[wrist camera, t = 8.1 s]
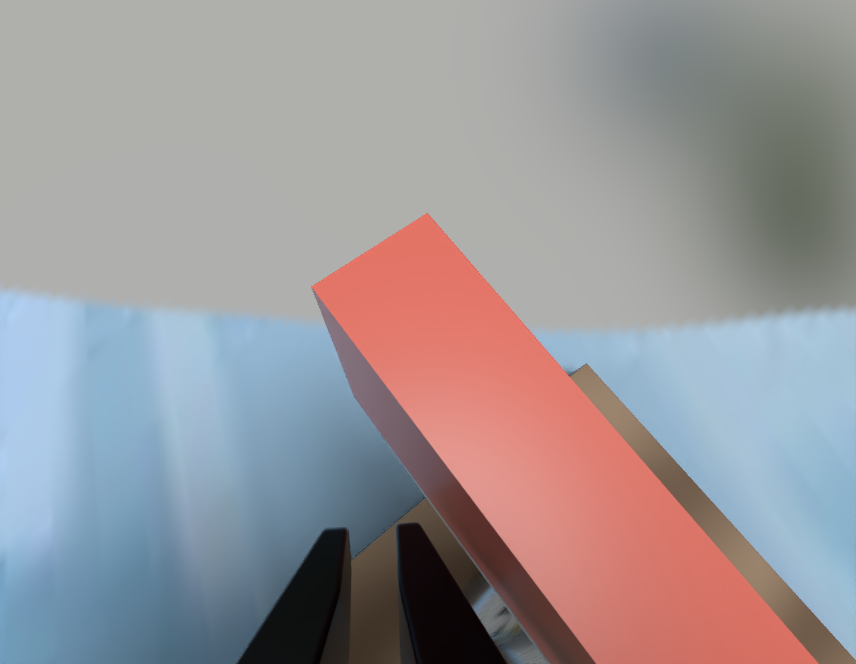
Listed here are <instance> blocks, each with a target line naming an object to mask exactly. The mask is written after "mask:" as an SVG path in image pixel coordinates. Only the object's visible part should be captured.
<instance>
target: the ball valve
mask: <svg viewBox="0 0 856 664" xmlns="http://www.w3.org/2000/svg"><path fill="white" fill-rule="evenodd" d="M462 592H463V593H464V595H465V597H466V598H467V600H468V601H469V603H470V605H471V606H472V608H473V609H474V611H475V613H476V614H477V616H478V617H479V619H480V621H481V622H482V624H483V625H484V627H485V629H486V630H487V632H488V633H489V635H490V637H491V638H492V640H493V641H494V643H495V645H496V646H497V648H498V649H499V651H500V653H501V654H502V656H503V657H504V659H505V661H506V662H507V664H547V663H546V661H545V660H544V658H543V657H542V656H541V654H540V653H539V652H538V650H537V649H536V648H535V646H534V645H533V643H532V642H531V641H530V639H529V638H528V637H527V635H526V634H525V632H524V631H523V630H522V628H521V627H520V626H519V624H518V623H517V622H516V620H515V619H514V617H513V616H512V615H511V613H510V612H509V611H508V609H507V608H506V607H505V605H504V604H503V602H502V601H501V600H500V598H499V597H498V596H497V594H496V593H495V591H494V590H493V589H492V587H491V586H490V585H489V583H488V582H487V581H486V579H485V578H484V576H483V575H482V574H481V572H480V571H479V572H478V573H477V574H476V575H475V576H474V577H473V578H472V579H471V580H470V581H469V582H468V584H467V585H466V586H465V587H464V588H463V590H462Z"/></svg>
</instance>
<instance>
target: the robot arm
mask: <svg viewBox="0 0 856 664" xmlns="http://www.w3.org/2000/svg"><path fill="white" fill-rule="evenodd" d="M396 558H397V585H398V611H399V638H400V657H401V664H507V662H506V661H505V659H504V657H503V656H502V654H501V653H500V651H499V649H498V648H497V646H496V645H495V643H494V641H493V640H492V638H491V637H490V635H489V633H488V632H487V630H486V629H485V627H484V625H483V624H482V622H481V621H480V619H479V617H478V616H477V614H476V613H475V611H474V609H473V608H472V606H471V605H470V603H469V601H468V600H467V598H466V597H465V595H464V593H463V592H462V590H461V589H460V587H459V585H458V584H457V582H456V581H455V579H454V577H453V576H452V574H451V573H450V571H449V569H448V568H447V566H446V565H445V563H444V561H443V560H442V558H441V557H440V555H439V553H438V552H437V550H436V549H435V547H434V545H433V544H432V542H431V541H430V539H429V537H428V536H427V534H426V533H425V531H424V529H423V528H422V526H421V525H420V524H419V523H417V522H409V523H398V524H397V525H396ZM351 575H352V569H351V553H350V541H349V531H348V529H347V528H346V527H337V528H326V529H324V530H323V531H322V533H321V534H320V536H319V537H318V539H317V540H316V542H315V543H314V545H313V546H312V548H311V549H310V551H309V552H308V554H307V555H306V557H305V559H304V560H303V562H302V563H301V565H300V566H299V568H298V569H297V571H296V572H295V574H294V575H293V577H292V578H291V580H290V582H289V583H288V585H287V586H286V588H285V589H284V591H283V592H282V594H281V595H280V597H279V598H278V600H277V601H276V603H275V605H274V606H273V608H272V609H271V611H270V612H269V614H268V615H267V617H266V618H265V620H264V621H263V623H262V624H261V626H260V627H259V629H258V631H257V632H256V634H255V635H254V637H253V638H252V640H251V641H250V643H249V644H248V646H247V647H246V649H245V650H244V652H243V654H242V655H241V657H240V658H239V660H238V661H237V663H236V664H349V647H350V611H351Z"/></svg>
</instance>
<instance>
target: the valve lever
mask: <svg viewBox="0 0 856 664" xmlns="http://www.w3.org/2000/svg"><path fill="white" fill-rule="evenodd" d="M312 290H313V293H314V295H315V298H316V300H317V303H318V305H319V308H320V310H321V313H322V316H323V318H324V321H325V323H326V326H327V328H328V331H329V333H330V336H331V339H332V341H333V344H334V346H335V349H336V351H337V354H338V356H339V359H340V362H341V364H342V367H343V369H344V372H345V374H346V377H347V379H348V382H349V385H350V387H351V390H352V392H353V395H354V397H355V399H356V400H357V401H358V403H359V404H360V405H361V407H362V408H363V410H364V411H365V412H366V414H367V415H368V416H369V418H370V419H371V420H372V422H373V423H374V425H375V426H376V427H377V429H378V430H379V431H380V433H381V437H382V438H383V440H384V441H385V442H386V444H387V445H388V446H389V448H390V449H391V451H392V452H393V453H394V455H395V456H396V457H397V459H398V460H399V462H400V463H401V464H402V466H403V467H404V468H405V470H406V471H407V472H408V474H409V475H410V477H411V478H412V479H413V481H414V482H415V483H416V485H417V486H418V488H419V489H420V490H421V492H422V493H423V494H424V496H425V497H426V498H427V500H428V501H429V503H430V504H431V505H432V507H433V508H434V509H435V511H436V512H437V513H438V515H439V516H440V518H441V519H442V520H443V522H444V523H445V524H446V526H447V527H448V529H449V530H450V531H451V533H452V534H453V535H454V537H455V538H456V539H457V541H458V542H459V544H460V545H461V546H462V548H463V549H464V550H465V552H466V553H467V555H468V556H469V557H470V559H471V560H472V561H473V563H474V564H475V565H476V567H477V568H478V570H479V571H480V572H481V574H482V575H483V576H484V578H485V579H486V581H487V582H488V583H489V585H490V586H491V587H492V589H493V590H494V591H495V593H496V594H497V596H498V597H499V598H500V600H501V601H502V602H503V604H504V605H505V607H506V608H507V609H508V611H509V612H510V613H511V615H512V616H513V617H514V619H515V620H516V622H517V623H518V624H519V626H520V627H521V628H522V630H523V631H524V632H525V634H526V635H527V637H528V638H529V639H530V641H531V642H532V643H533V645H534V646H535V648H536V649H537V650H538V652H539V653H540V654H541V656H542V657H543V658H544V660H545V661H546V663H547V664H819V663H818V662H817V661H816V660H815V659H814V658H813V656H812V655H811V654H810V653H809V652H808V651H807V650H806V648H805V647H804V646H803V645H802V644H801V643H800V642H799V640H798V639H797V638H796V637H795V636H794V635H793V633H792V632H791V631H790V630H789V629H788V628H787V627H786V625H785V624H784V623H783V622H782V621H781V620H780V618H779V617H778V616H777V615H776V614H775V613H774V612H773V610H772V609H771V608H770V607H769V606H768V605H767V603H766V602H765V601H764V600H763V599H762V598H761V597H760V595H759V594H758V593H757V592H756V591H755V590H754V589H753V587H752V586H751V585H750V584H749V583H748V582H747V580H746V579H745V578H744V577H743V576H742V575H741V574H740V572H739V571H738V570H737V569H736V568H735V567H734V565H733V564H732V563H731V562H730V561H729V560H728V559H727V557H726V556H725V555H724V554H723V553H722V552H721V551H720V549H719V548H718V547H717V546H716V545H715V544H714V542H713V541H712V540H711V539H710V538H709V537H708V536H707V534H706V533H705V532H704V531H703V530H702V529H701V527H700V526H699V525H698V524H697V523H696V522H695V521H694V519H693V518H692V517H691V516H690V515H689V514H688V513H687V511H686V510H685V509H684V508H683V507H682V506H681V504H680V503H679V502H678V501H677V500H676V499H675V498H674V496H673V495H672V494H671V493H670V492H669V491H668V489H667V488H666V487H665V486H664V485H663V484H662V483H661V481H660V480H659V479H658V478H657V477H656V476H655V474H654V473H653V472H652V471H651V470H650V469H649V468H648V466H647V465H646V464H645V463H644V462H643V461H642V460H641V458H640V457H639V456H638V455H637V454H636V453H635V451H634V450H633V449H632V448H631V447H630V446H629V445H628V443H627V442H626V441H625V440H624V439H623V438H622V436H621V435H620V434H619V433H618V432H617V431H616V430H615V428H614V427H613V426H612V425H611V424H610V423H609V422H608V420H607V419H606V418H605V417H604V416H603V415H602V413H601V412H600V411H599V410H598V409H597V408H596V407H595V405H594V404H593V403H592V402H591V401H590V400H589V398H588V397H587V396H586V395H585V394H584V393H583V392H582V390H581V389H580V388H579V387H578V386H577V385H576V384H575V382H574V381H573V380H572V379H571V378H570V377H569V375H568V374H567V373H566V372H565V371H564V370H563V369H562V367H561V366H560V365H559V364H558V363H557V362H556V360H555V359H554V358H553V357H552V356H551V355H550V354H549V352H548V351H547V350H546V349H545V348H544V347H543V346H542V344H541V343H540V342H539V341H538V340H537V339H536V337H535V336H534V335H533V334H532V333H531V332H530V331H529V329H528V328H527V327H526V326H525V325H524V324H523V323H522V321H521V320H520V319H519V318H518V317H517V316H516V314H515V313H514V312H513V311H512V310H511V309H510V307H508V305H507V304H506V303H505V302H504V301H503V299H501V297H500V296H499V295H498V294H497V293H496V291H495V290H494V289H493V288H492V287H491V286H490V285H489V283H487V281H486V280H485V279H484V278H483V277H482V275H481V274H480V273H479V272H478V271H477V270H476V268H475V267H474V266H473V265H472V264H471V263H470V261H469V260H468V259H467V258H466V257H465V256H464V255H463V253H462V252H461V251H460V250H459V249H458V248H457V246H456V245H455V244H454V243H453V242H452V241H451V240H450V239H449V237H448V236H447V235H446V234H445V233H444V231H443V230H442V229H441V228H440V227H439V226H438V225H437V224H436V222H435V221H434V220H433V219H432V218H431V217H430V215H429V214H428V213H427V214H425V215H423V216H422V217H420V218H419V219H417V220H416V221H414V222H413V223H411V224H409V225H408V226H406V227H405V228H403V229H402V230H400V231H398V232H397V233H395V234H394V235H392V236H390V237H389V238H387V239H386V240H384V241H383V242H381V243H379V244H378V245H377V246H375V247H373V248H372V249H370V250H368V251H367V252H365V253H364V254H362V255H360V256H359V257H357V258H356V259H354V260H353V261H351V262H350V263H348V264H346V265H345V266H343V267H341V268H340V269H338V270H337V271H335V272H334V273H332V274H330V275H329V276H327V277H326V278H324V279H323V280H321V281H319V282H318V283H316V284H315V285H313V286H312Z"/></svg>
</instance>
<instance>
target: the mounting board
mask: <svg viewBox="0 0 856 664" xmlns="http://www.w3.org/2000/svg"><path fill="white" fill-rule="evenodd" d="M569 377H570V378H571V379H572V380H573V381H574V382H575V384H576V385H577V386H578V387H579V388H580V389H581V390H582V392H583V393H584V394H585V395H586V396H587V397H588V398H589V400H590V401H591V402H592V403H593V404H594V405H595V407H596V408H597V409H598V410H599V411H600V412H601V413H602V415H603V416H604V417H605V418H606V419H607V420H608V422H609V423H610V424H611V425H612V426H613V427H614V428H615V430H616V431H617V432H618V433H619V434H620V435H621V436H622V438H623V439H624V440H625V441H626V442H627V443H628V445H629V446H630V447H631V448H632V449H633V450H634V451H635V453H636V454H637V455H638V456H639V457H640V458H641V460H642V461H643V462H644V463H645V464H646V465H647V466H648V468H649V469H650V470H651V471H652V472H653V473H654V474H655V476H656V477H657V478H658V479H659V480H660V481H661V483H662V484H663V485H664V486H665V487H666V488H667V489H668V491H669V492H670V493H671V494H672V495H673V496H674V498H675V499H676V500H677V501H678V502H679V503H680V504H681V506H682V507H683V508H684V509H685V510H686V511H687V513H688V514H689V515H690V516H691V517H692V518H693V519H694V521H695V522H696V523H697V524H698V525H699V526H700V527H701V529H702V530H703V531H704V532H705V533H706V534H707V536H708V537H709V538H710V539H711V540H712V541H713V542H714V544H715V545H716V546H717V547H718V548H719V549H720V551H721V552H722V553H723V554H724V555H725V556H726V557H727V559H728V560H729V561H730V562H731V563H732V564H733V565H734V567H735V568H736V569H737V570H738V571H739V572H740V574H741V575H742V576H743V577H744V578H745V579H746V580H747V582H748V583H749V584H750V585H751V586H752V587H753V589H754V590H755V591H756V592H757V593H758V594H759V595H760V597H761V598H762V599H763V600H764V601H765V602H766V603H767V605H768V606H769V607H770V608H771V609H772V610H773V612H774V613H775V614H776V615H777V616H778V617H779V618H780V620H781V621H782V622H783V623H784V624H785V625H786V627H787V628H788V629H789V630H790V631H791V632H792V633H793V635H794V636H795V637H796V638H797V639H798V640H799V642H800V643H801V644H802V645H803V646H804V647H805V648H806V650H807V651H808V652H809V653H810V654H811V655H812V656H813V658H814V659H815V660H816V661H817V662H818V663H819V664H856V660H855V659H854V658H853V657H852V656H851V655H850V654H849V652H848V651H847V650H846V649H845V648H844V647H843V646H842V645H841V644H840V642H839V641H838V640H837V639H836V638H835V637H834V636H833V635H832V634H831V633H830V631H829V630H828V629H827V628H826V627H825V626H824V625H823V624H822V623H821V621H820V620H819V619H818V618H817V617H816V616H815V615H814V614H813V613H812V612H811V610H810V609H809V608H808V607H807V606H806V605H805V604H804V603H803V602H802V601H801V599H800V598H799V597H798V596H797V595H796V594H795V593H794V592H793V591H792V589H791V588H790V587H789V586H788V585H787V584H786V583H785V582H784V581H783V580H782V578H781V577H780V576H779V575H778V574H777V573H776V572H775V571H774V570H773V569H772V567H771V566H770V565H769V564H768V563H767V562H766V561H765V560H764V559H763V557H762V556H761V555H760V554H759V553H758V552H757V551H756V550H755V549H754V548H753V546H752V545H751V544H750V543H749V542H748V541H747V540H746V539H745V538H744V536H743V535H742V534H741V533H740V532H739V531H738V530H737V529H736V528H735V527H734V525H733V524H732V523H731V522H730V521H729V520H728V519H727V518H726V517H725V516H724V514H723V513H722V512H721V511H720V510H719V509H718V508H717V507H716V506H715V504H714V503H713V502H712V501H711V500H710V499H709V498H708V497H707V496H706V495H705V493H704V492H703V491H702V490H701V489H700V488H699V487H698V486H697V485H696V483H695V482H694V481H693V480H692V479H691V478H690V477H689V476H688V475H687V474H686V472H685V471H684V470H683V469H682V468H681V467H680V466H679V465H678V464H677V463H676V461H675V460H674V459H673V458H672V457H671V456H670V455H669V454H668V453H667V451H666V450H665V449H664V448H663V447H662V446H661V445H660V444H659V443H658V442H657V440H656V439H655V438H654V437H653V436H652V435H651V434H650V433H649V432H648V430H647V429H646V428H645V427H644V426H643V425H642V424H641V423H640V422H639V421H638V419H637V418H636V417H635V416H634V415H633V414H632V413H631V412H630V411H629V410H628V408H627V407H626V406H625V405H624V404H623V403H622V402H621V401H620V400H619V398H618V397H617V396H616V395H615V394H614V393H613V392H612V391H611V390H610V389H609V387H608V386H607V385H606V384H605V383H604V382H603V381H602V380H601V379H600V378H599V376H598V375H597V374H596V373H595V372H594V371H593V370H592V369H591V368H590V366H589V365H588V364H587V363H586V364H585V365H583V366H582V367H581V368H579V369H578V370H576V371H575V372H573V373H572V374H571V375H570V376H569ZM409 522H417V523H419V524H420V525H421V526H422V528H423V529H424V531H425V533H426V534H427V536H428V537H429V539H430V541H431V542H432V544H433V545H434V547H435V549H436V550H437V552H438V553H439V555H440V557H441V558H442V560H443V561H444V563H445V565H446V566H447V568H448V569H449V571H450V573H451V574H452V576H453V577H454V579H455V581H456V582H457V584H458V585H459V587H460V589H461V590H463V588H464V587H465V586H466V585H467V584H468V582H469V581H470V580H471V579H472V578H473V577H474V576H475V575H476V574H477V573H478V572H479V570H478V568H477V567H476V565H475V564H474V563H473V561H472V560H471V559H470V557H469V556H468V555H467V553H466V552H465V550H464V549H463V548H462V546H461V545H460V544H459V542H458V541H457V539H456V538H455V537H454V535H453V534H452V533H451V531H450V530H449V529H448V527H447V526H446V524H445V523H444V522H443V520H442V519H441V518H440V516H439V515H438V513H437V512H436V511H435V509H434V508H433V507H432V505H431V504H430V503H429V501H428V500H427V498H426V497H425V498H424V499H423V500H422V501H421V502H419V503H418V504H417V505H416V506H415V507H413V508H412V509H411V510H410V511H409V512H408V513H406V514H405V515H404V516H403V517H402V518H400V519H399V520H398V521H397V522H396V523H394V524H393V525H392V526H391V527H390V528H389V529H387V530H386V531H385V532H384V533H383V534H381V535H380V536H379V537H378V538H377V539H376V540H374V541H373V542H372V543H371V544H370V545H368V546H367V547H366V548H365V549H364V550H362V551H361V552H360V553H359V554H358V555H357V556H355V557H354V558H353V559H352V560H351V569H352V575H351V611H350V647H349V664H401V657H400V638H399V611H398V585H397V558H396V525H397V524H398V523H409ZM242 654H243V653H242ZM240 657H241V656H240Z"/></svg>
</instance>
